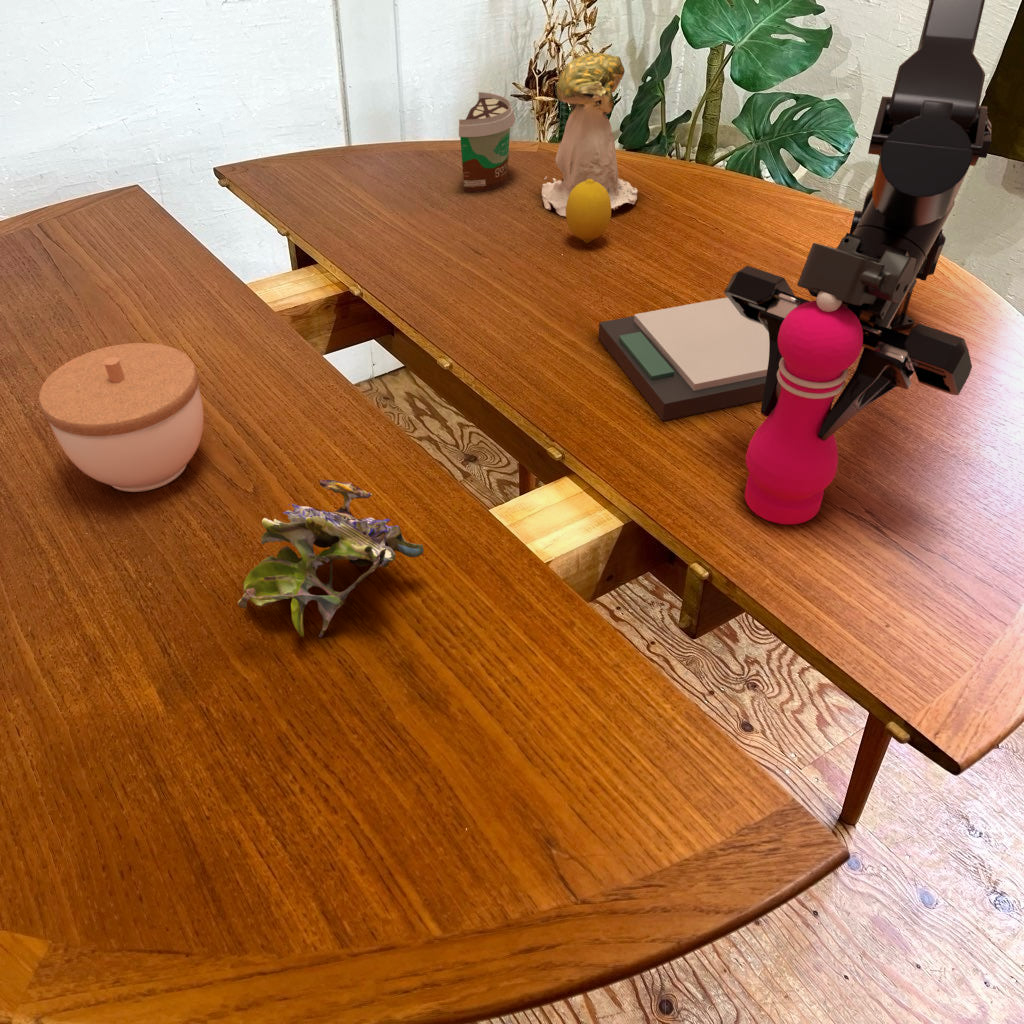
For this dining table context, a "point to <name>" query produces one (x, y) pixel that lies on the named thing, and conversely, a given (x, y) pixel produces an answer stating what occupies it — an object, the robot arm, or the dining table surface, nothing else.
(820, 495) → the pepper mill
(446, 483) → the dining table surface
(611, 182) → the mushroom
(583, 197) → the lemon
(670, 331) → the scale
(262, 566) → the passion flower
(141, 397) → the lidded bowl
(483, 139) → the food container
